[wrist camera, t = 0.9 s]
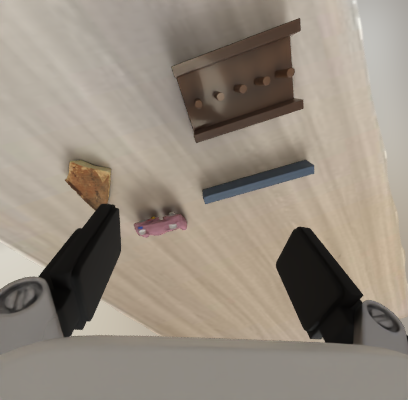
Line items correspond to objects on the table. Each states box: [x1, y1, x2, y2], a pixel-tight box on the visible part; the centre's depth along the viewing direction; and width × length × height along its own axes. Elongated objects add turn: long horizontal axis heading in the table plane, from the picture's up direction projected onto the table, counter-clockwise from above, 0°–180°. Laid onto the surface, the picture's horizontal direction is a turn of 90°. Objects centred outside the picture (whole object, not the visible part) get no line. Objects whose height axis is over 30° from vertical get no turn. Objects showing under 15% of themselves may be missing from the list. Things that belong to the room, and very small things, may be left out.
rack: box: [171, 18, 303, 143], centre depth 27 cm, size 10×16×6 cm, turn 107°
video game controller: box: [134, 212, 187, 237], centre depth 39 cm, size 10×5×7 cm, turn 102°
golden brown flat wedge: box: [65, 160, 111, 210], centre depth 36 cm, size 11×8×2 cm
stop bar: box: [202, 160, 314, 204], centre depth 36 cm, size 2×20×3 cm, turn 107°
